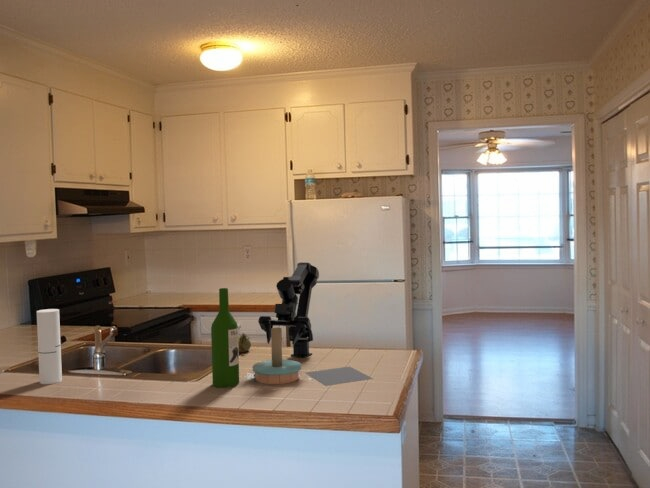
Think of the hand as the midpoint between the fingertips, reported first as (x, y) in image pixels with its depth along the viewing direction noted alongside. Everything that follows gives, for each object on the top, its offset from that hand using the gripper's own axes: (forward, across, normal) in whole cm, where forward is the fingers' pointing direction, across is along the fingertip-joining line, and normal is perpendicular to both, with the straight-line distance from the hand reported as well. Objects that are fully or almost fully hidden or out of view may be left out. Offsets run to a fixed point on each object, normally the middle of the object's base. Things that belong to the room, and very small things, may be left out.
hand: (280, 343), depth 209 cm
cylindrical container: (+23, -78, -7) cm, 82 cm away
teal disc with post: (+9, 0, +2) cm, 9 cm away
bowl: (+11, 0, +5) cm, 12 cm away
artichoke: (-14, -26, +31) cm, 43 cm away
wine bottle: (+18, -15, -2) cm, 24 cm away
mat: (+7, +20, +9) cm, 23 cm away
